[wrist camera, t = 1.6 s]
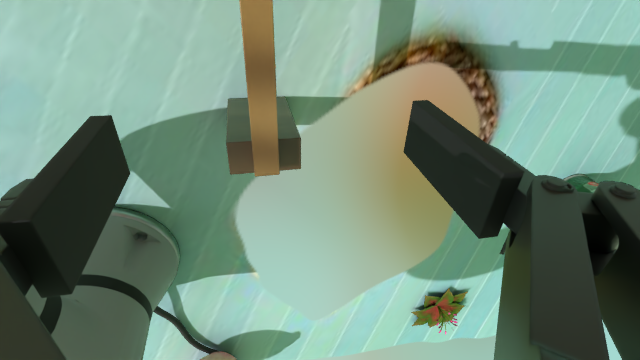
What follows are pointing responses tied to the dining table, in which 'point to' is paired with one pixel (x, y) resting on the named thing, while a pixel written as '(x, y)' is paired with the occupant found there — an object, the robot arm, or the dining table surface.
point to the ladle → (261, 83)
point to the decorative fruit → (219, 356)
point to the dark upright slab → (242, 142)
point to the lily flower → (439, 309)
